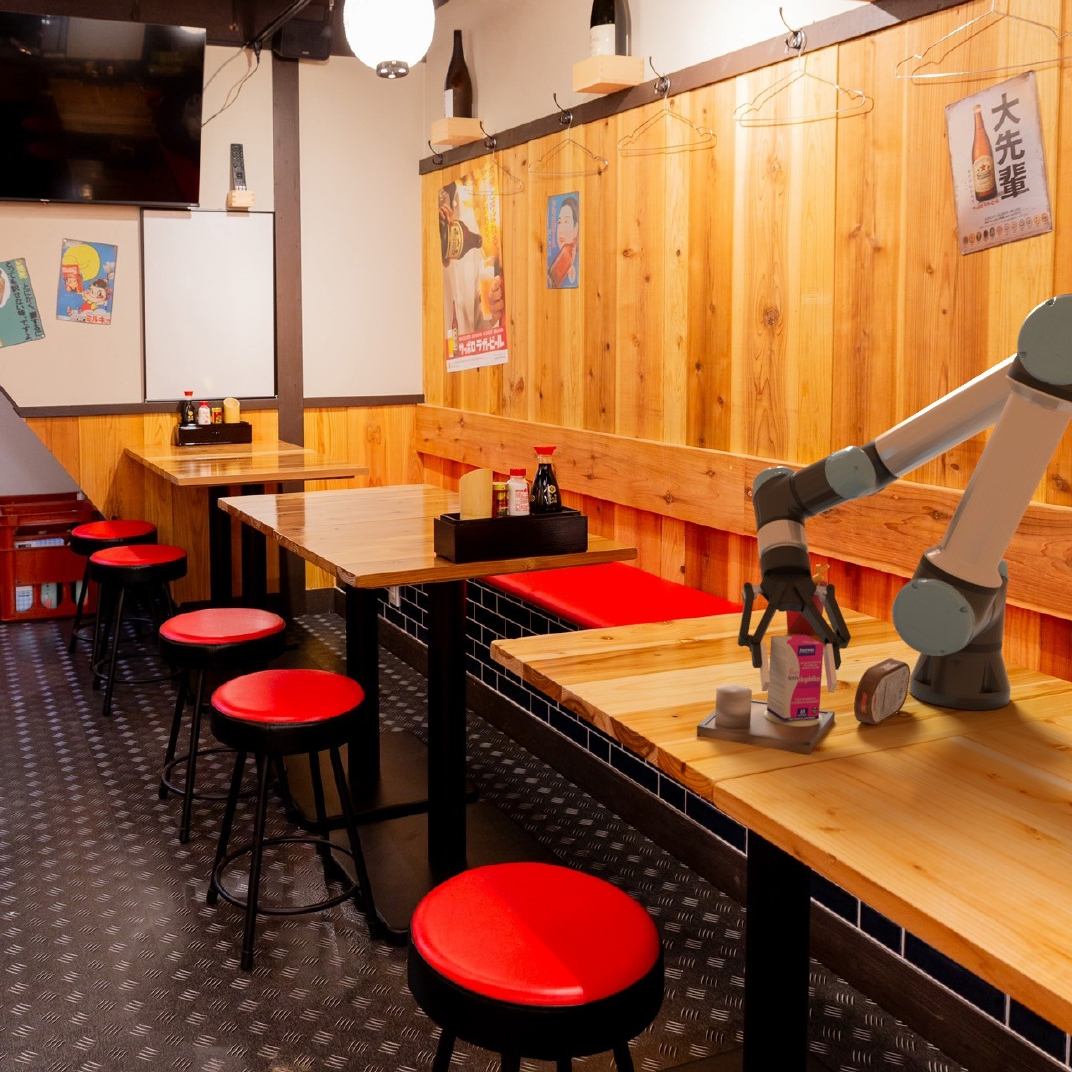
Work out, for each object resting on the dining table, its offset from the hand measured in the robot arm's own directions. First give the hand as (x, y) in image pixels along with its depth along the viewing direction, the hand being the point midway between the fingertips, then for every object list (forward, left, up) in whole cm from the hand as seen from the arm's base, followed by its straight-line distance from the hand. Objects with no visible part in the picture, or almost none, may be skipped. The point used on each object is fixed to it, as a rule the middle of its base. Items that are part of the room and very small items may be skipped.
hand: (799, 687), depth 166 cm
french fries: (+14, -59, -7) cm, 61 cm away
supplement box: (+1, -3, -5) cm, 6 cm away
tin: (-10, -13, -7) cm, 18 cm away
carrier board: (+4, 0, -7) cm, 8 cm away
